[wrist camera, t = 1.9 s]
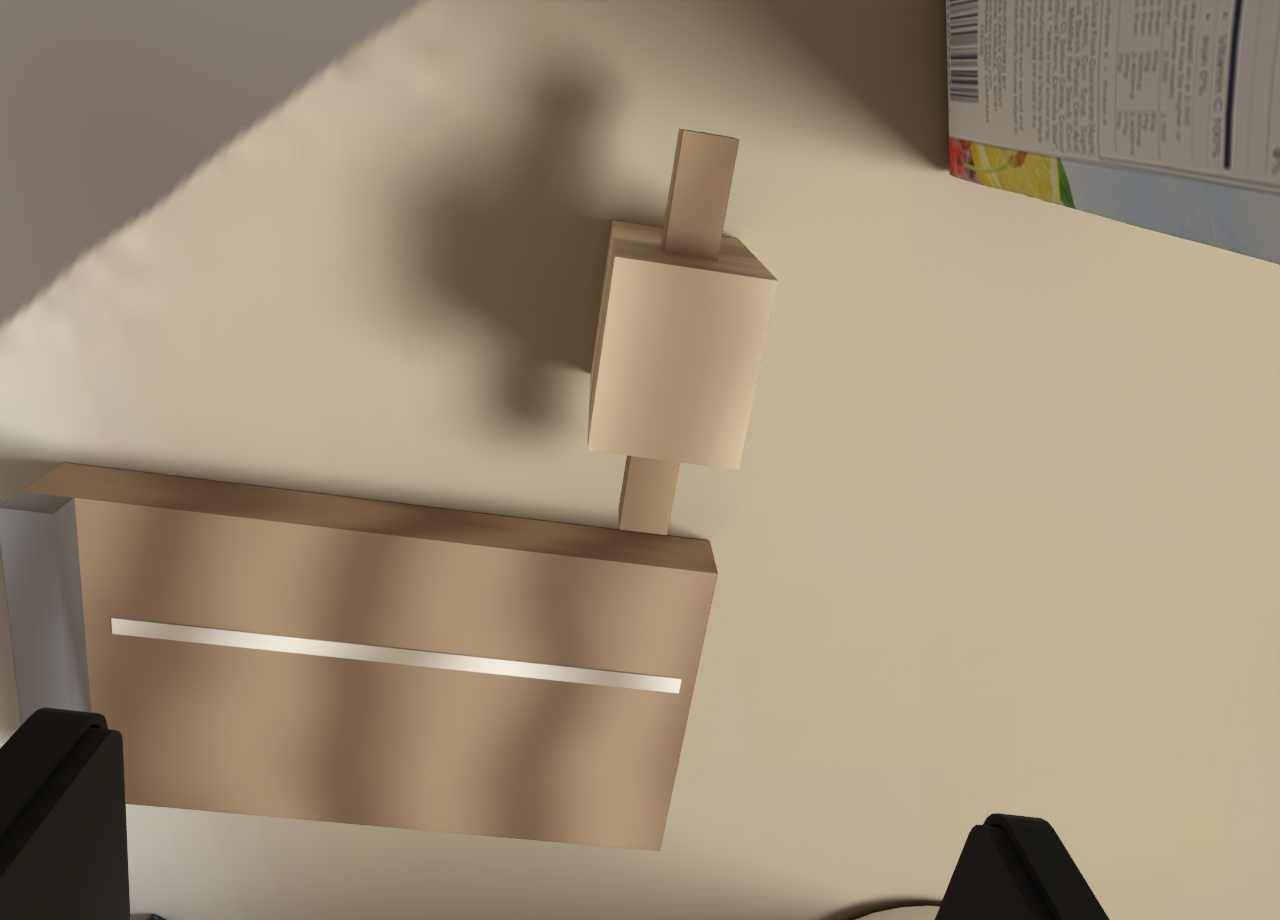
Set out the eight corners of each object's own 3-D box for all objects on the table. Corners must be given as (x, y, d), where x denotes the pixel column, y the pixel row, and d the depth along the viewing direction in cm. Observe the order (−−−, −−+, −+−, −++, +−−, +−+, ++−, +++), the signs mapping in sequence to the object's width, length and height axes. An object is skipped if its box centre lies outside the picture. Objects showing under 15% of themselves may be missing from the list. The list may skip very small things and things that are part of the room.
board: (709, 540, 32) (722, 592, 29) (656, 805, 37) (661, 876, 33) (63, 462, 30) (-4, 507, 27) (86, 752, 35) (32, 821, 31)
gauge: (757, 138, 27) (805, 151, 21) (694, 472, 31) (718, 570, 25) (626, 117, 27) (633, 124, 21) (579, 457, 31) (572, 552, 25)
